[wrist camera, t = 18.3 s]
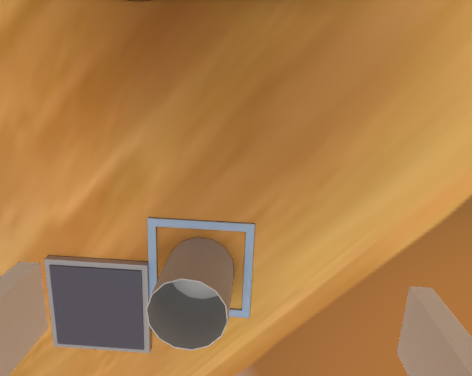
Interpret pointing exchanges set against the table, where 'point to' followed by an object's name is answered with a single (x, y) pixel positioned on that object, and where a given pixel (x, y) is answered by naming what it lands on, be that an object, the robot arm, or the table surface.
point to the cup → (192, 295)
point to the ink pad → (99, 303)
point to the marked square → (209, 225)
